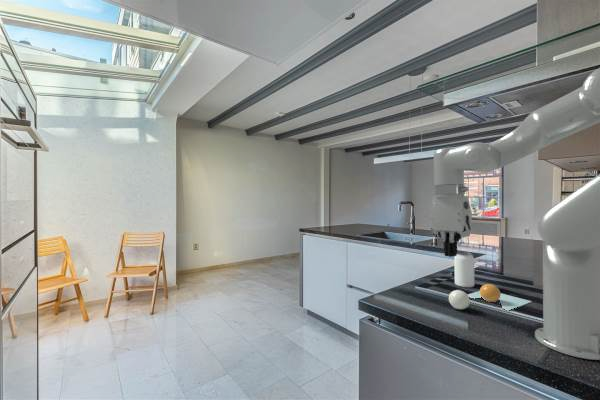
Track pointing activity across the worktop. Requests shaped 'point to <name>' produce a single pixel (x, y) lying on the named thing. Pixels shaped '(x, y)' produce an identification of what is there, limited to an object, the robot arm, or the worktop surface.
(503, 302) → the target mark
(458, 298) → the cue ball
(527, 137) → the robot arm
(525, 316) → the worktop surface
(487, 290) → the object ball
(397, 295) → the worktop surface
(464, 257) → the can
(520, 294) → the worktop surface
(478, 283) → the worktop surface
